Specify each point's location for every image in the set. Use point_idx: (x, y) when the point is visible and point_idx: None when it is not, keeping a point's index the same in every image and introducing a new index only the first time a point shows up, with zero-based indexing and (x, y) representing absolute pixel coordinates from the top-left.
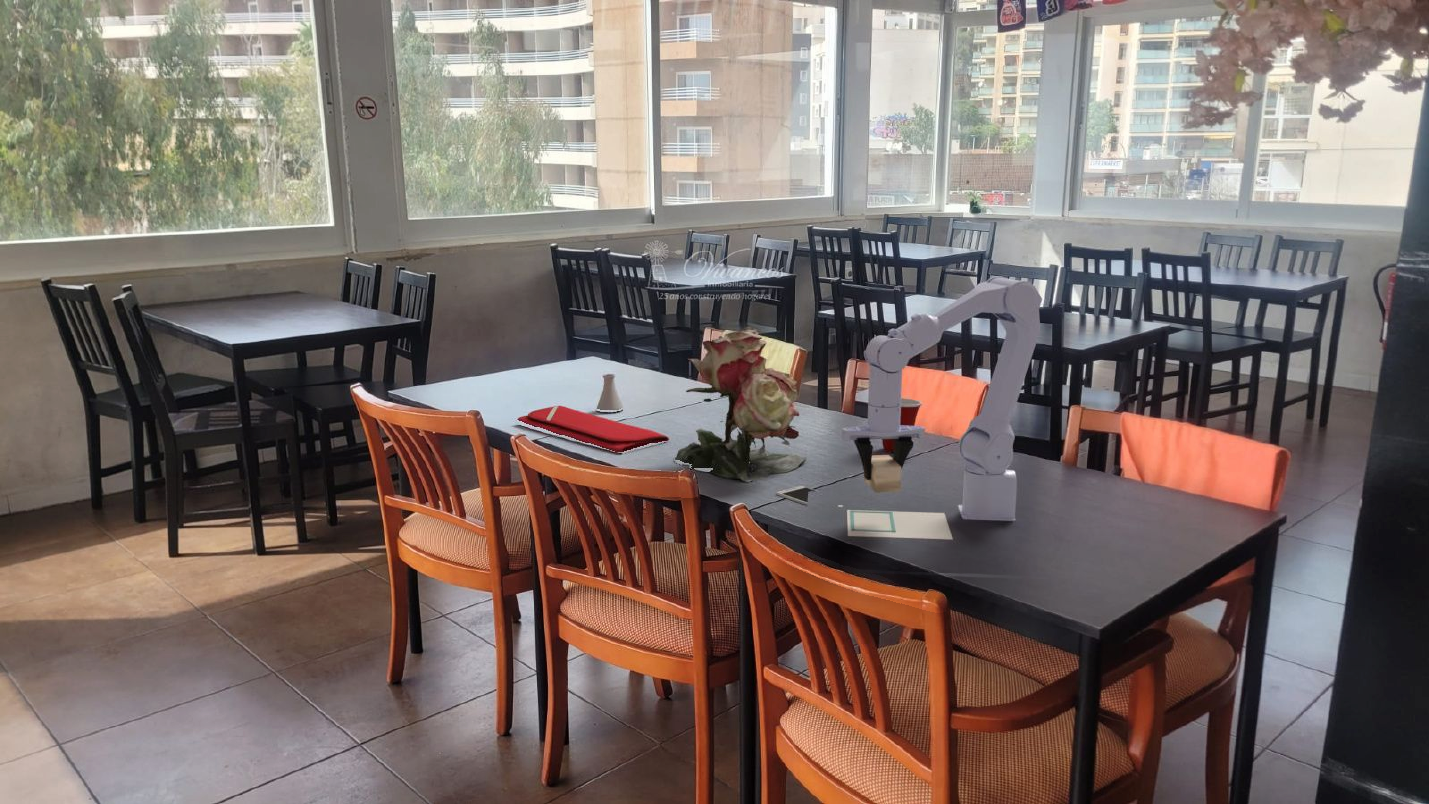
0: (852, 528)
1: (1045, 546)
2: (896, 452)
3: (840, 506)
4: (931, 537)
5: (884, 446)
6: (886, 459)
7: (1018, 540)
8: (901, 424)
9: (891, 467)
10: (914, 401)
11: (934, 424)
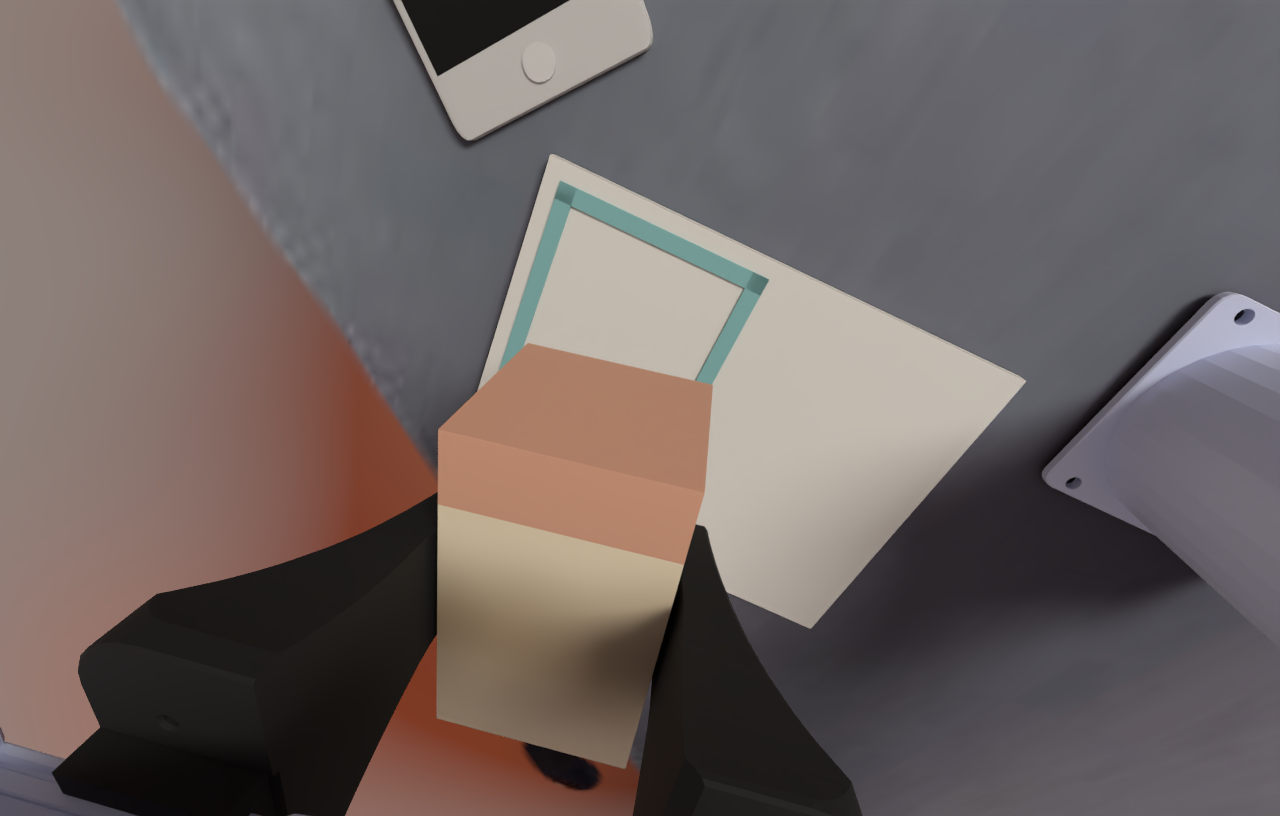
0: None
1: (1086, 749)
2: (655, 739)
3: (535, 72)
4: (746, 591)
5: None
6: (605, 598)
7: (1052, 688)
8: None
9: (551, 748)
10: None
11: None
